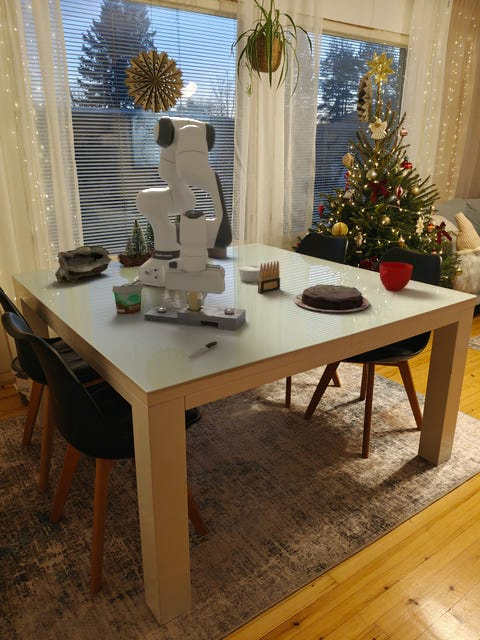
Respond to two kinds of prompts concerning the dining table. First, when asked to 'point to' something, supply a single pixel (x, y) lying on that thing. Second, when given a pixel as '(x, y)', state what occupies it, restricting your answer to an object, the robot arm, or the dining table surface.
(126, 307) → the food container
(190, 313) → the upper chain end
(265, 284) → the ammunition clip
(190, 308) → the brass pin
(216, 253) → the pillar candle
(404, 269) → the ceramic cup
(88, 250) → the hollow geode rock
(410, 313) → the dining table surface
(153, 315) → the lower chain end
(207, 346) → the pocket knife
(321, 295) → the chocolate cake
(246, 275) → the ramekin
